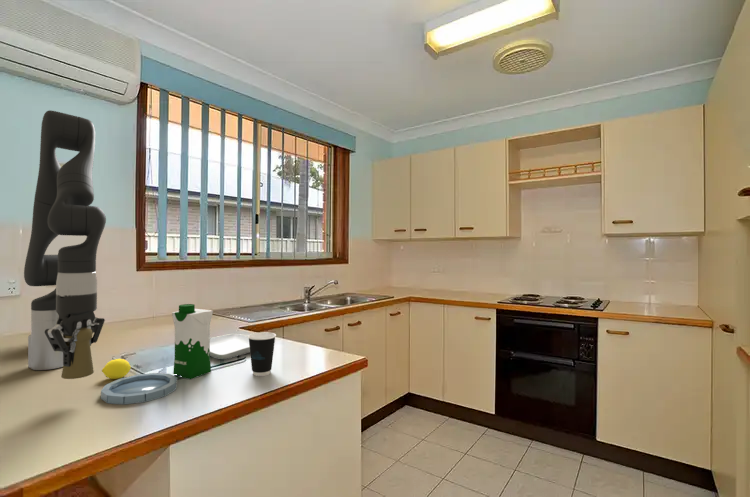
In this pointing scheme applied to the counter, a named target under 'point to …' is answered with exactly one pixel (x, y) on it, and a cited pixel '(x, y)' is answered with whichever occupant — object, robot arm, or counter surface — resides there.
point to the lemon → (116, 368)
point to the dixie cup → (261, 352)
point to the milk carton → (192, 341)
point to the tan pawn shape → (80, 357)
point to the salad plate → (229, 346)
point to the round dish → (139, 388)
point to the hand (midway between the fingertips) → (76, 365)
